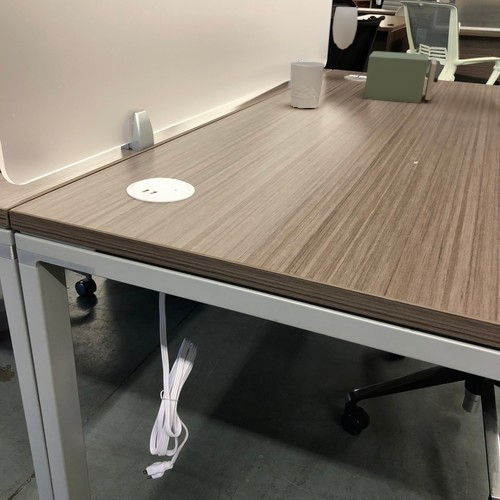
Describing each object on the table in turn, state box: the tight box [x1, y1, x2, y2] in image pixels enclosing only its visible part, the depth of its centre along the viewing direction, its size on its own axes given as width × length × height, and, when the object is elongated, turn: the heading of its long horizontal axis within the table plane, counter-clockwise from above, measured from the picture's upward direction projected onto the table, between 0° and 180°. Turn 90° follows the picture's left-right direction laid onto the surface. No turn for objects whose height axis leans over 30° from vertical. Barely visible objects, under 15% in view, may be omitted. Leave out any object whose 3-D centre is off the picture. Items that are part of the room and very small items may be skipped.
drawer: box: [424, 58, 439, 101], centre depth 135 cm, size 15×11×9 cm
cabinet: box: [363, 50, 429, 104], centre depth 136 cm, size 15×13×11 cm
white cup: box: [289, 60, 325, 109], centre depth 122 cm, size 8×8×10 cm
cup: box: [332, 6, 358, 50], centre depth 157 cm, size 7×7×21 cm
